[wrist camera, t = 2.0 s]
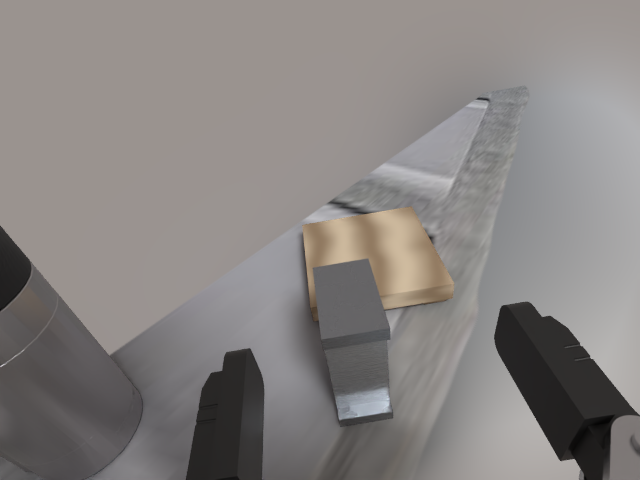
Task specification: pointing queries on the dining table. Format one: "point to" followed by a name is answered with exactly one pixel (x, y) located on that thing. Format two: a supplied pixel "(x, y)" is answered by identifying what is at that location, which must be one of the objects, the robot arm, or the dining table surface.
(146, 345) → the dining table surface
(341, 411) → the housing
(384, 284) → the birch stand
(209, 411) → the robot arm
